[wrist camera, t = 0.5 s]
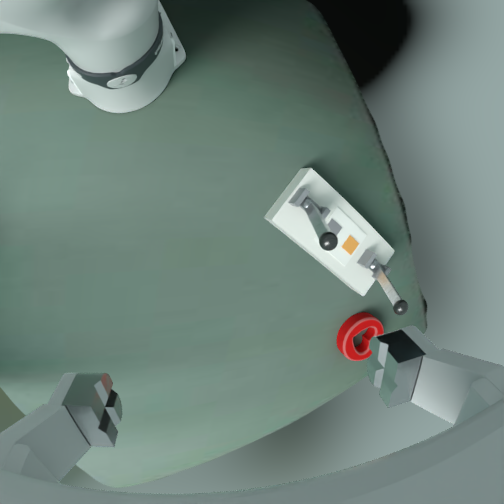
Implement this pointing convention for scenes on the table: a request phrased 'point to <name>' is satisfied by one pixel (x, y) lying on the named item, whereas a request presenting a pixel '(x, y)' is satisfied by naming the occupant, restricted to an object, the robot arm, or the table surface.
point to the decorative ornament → (352, 329)
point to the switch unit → (340, 223)
